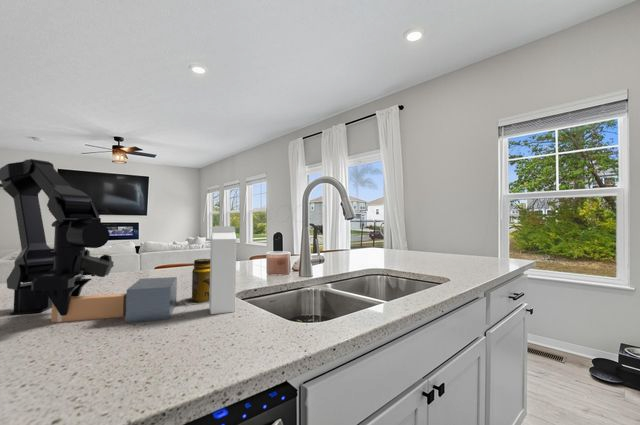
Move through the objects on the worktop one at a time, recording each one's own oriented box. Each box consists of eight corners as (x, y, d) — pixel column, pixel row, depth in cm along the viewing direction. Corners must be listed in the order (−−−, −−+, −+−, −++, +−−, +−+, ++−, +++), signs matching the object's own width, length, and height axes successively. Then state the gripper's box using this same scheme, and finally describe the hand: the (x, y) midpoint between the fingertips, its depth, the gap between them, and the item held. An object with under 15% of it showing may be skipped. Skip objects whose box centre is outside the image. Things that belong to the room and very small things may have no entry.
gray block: (122, 323, 69) (123, 289, 69) (137, 306, 82) (138, 278, 82) (169, 319, 72) (170, 287, 72) (176, 303, 85) (176, 277, 86)
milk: (235, 312, 78) (237, 226, 79) (210, 314, 76) (212, 226, 76) (232, 306, 84) (233, 226, 84) (208, 308, 81) (210, 225, 82)
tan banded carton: (51, 322, 69) (52, 300, 69) (57, 318, 72) (58, 296, 72) (122, 316, 74) (123, 295, 74) (126, 313, 77) (126, 292, 77)
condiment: (217, 301, 88) (218, 260, 89) (186, 305, 84) (187, 262, 84) (211, 296, 94) (212, 257, 95) (181, 300, 90) (182, 259, 90)
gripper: (95, 249, 66) (93, 321, 65) (121, 243, 83) (119, 300, 83) (31, 250, 62) (28, 327, 61) (71, 243, 80) (69, 303, 79)
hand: (67, 312), depth 71 cm, fingers open, 4 cm apart
